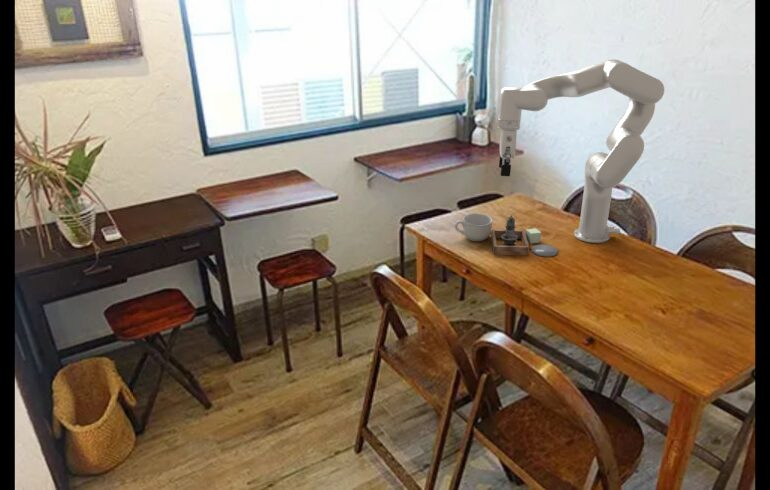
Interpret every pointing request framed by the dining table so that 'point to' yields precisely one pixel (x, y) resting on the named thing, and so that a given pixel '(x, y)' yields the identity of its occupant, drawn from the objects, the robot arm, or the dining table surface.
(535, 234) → the sage block
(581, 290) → the dining table surface
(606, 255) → the dining table surface
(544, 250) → the slate coaster
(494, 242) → the walnut corral
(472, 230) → the teacup
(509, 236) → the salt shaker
